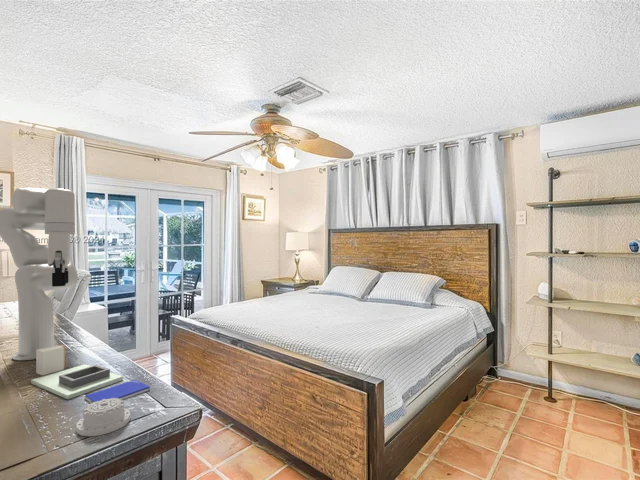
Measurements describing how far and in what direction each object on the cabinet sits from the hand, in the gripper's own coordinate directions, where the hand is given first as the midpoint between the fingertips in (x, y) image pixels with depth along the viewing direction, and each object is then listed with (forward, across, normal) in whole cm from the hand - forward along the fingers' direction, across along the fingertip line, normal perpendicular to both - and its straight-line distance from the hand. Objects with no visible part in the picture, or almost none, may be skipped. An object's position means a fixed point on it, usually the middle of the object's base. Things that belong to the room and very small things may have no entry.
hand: (60, 284), depth 107 cm
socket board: (+26, +13, +5) cm, 30 cm away
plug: (+26, -1, -3) cm, 26 cm away
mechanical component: (+28, +44, +11) cm, 53 cm away
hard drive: (+28, +29, +14) cm, 42 cm away
